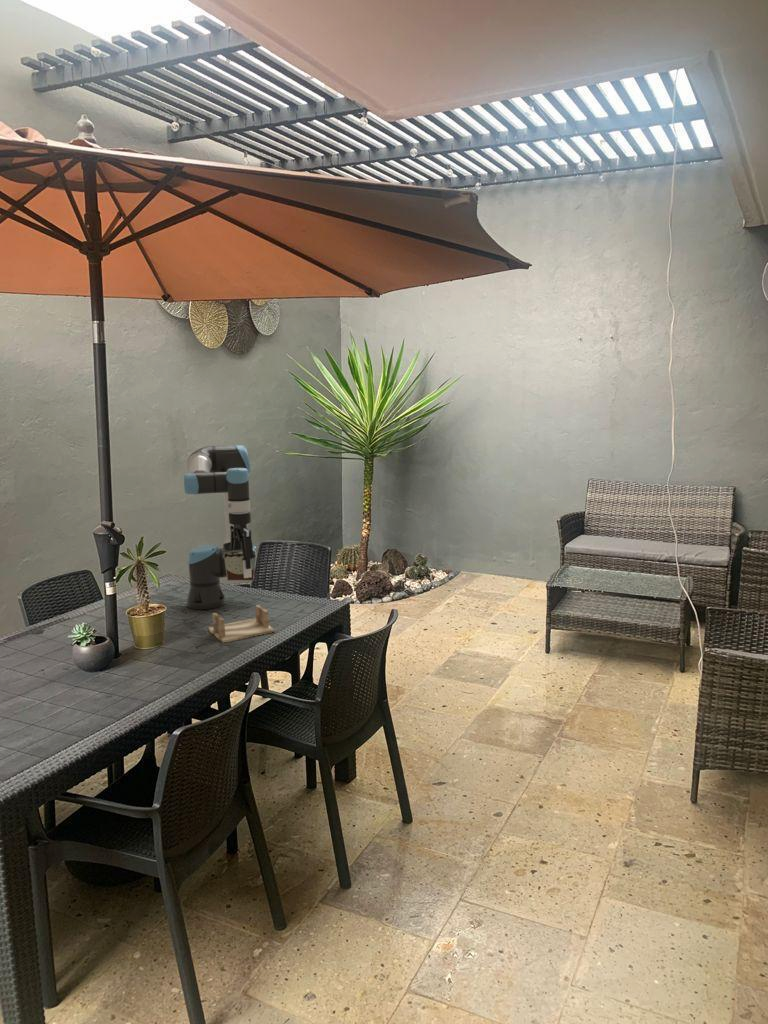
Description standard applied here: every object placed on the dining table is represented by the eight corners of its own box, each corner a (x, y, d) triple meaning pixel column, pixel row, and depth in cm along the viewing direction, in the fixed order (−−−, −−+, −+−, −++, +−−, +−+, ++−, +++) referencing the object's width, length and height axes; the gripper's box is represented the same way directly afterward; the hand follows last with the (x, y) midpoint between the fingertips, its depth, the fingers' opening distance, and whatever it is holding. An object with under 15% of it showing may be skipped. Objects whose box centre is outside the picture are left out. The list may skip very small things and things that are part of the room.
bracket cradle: (208, 629, 263) (206, 611, 262) (257, 620, 273) (256, 602, 271) (223, 643, 249) (222, 623, 248) (275, 632, 259) (274, 613, 258)
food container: (261, 576, 264) (260, 549, 263) (257, 580, 258) (256, 552, 257) (228, 576, 265) (227, 549, 264) (223, 580, 259) (222, 552, 258)
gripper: (218, 509, 264) (222, 570, 268) (240, 517, 246) (244, 582, 250) (238, 507, 268) (241, 567, 272) (261, 514, 250) (264, 579, 254)
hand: (242, 574), depth 261 cm, fingers closed on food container, 8 cm apart
